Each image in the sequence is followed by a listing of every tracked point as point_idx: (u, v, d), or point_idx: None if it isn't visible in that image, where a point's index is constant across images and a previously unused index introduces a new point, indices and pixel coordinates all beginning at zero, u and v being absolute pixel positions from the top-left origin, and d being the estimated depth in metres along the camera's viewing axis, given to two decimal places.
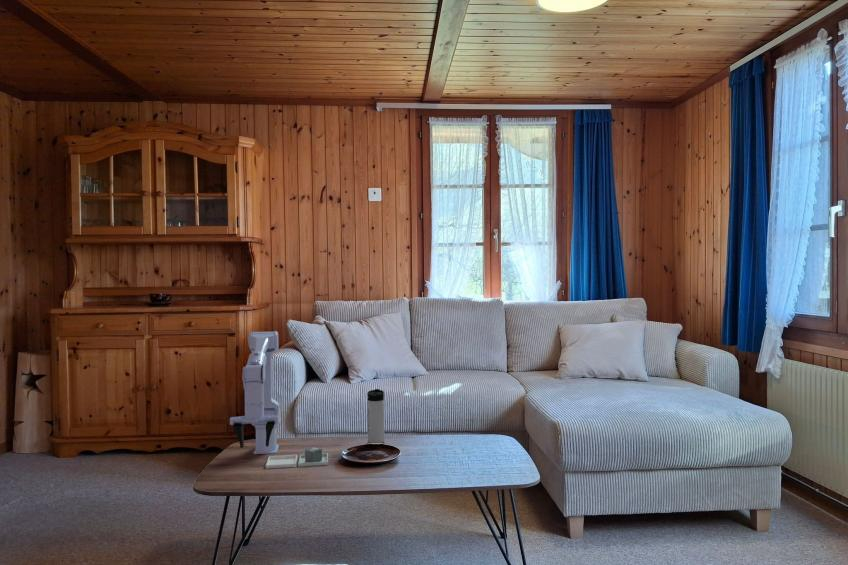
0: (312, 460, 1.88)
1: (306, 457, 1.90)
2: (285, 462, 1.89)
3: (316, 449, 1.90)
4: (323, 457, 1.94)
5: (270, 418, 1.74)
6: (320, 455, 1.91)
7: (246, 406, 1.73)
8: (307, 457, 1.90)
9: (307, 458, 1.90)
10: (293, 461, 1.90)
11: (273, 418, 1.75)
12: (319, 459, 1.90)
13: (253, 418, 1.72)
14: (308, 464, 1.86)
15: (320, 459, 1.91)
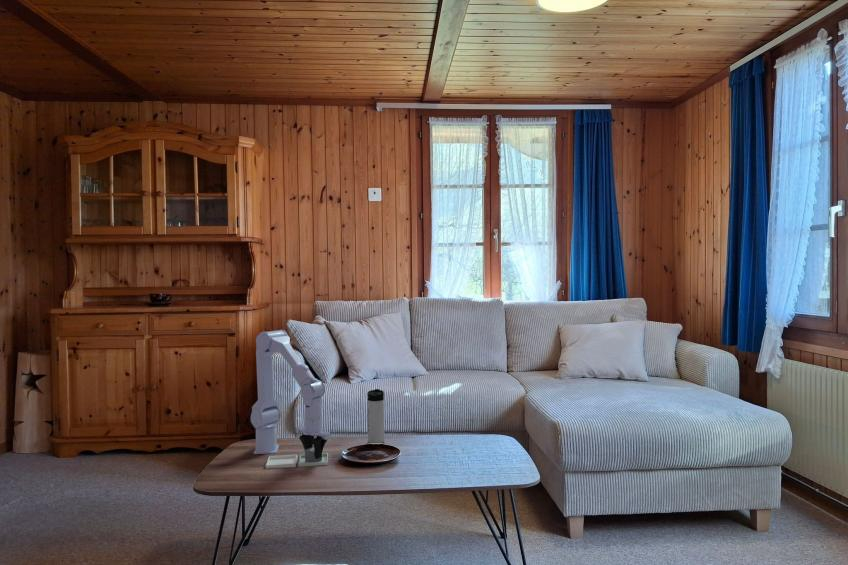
0: (312, 460, 1.88)
1: (306, 457, 1.90)
2: (285, 462, 1.89)
3: None
4: (323, 457, 1.94)
5: (320, 434, 1.87)
6: None
7: None
8: (307, 457, 1.90)
9: (307, 458, 1.90)
10: (293, 461, 1.90)
11: (323, 434, 1.86)
12: (319, 459, 1.90)
13: (307, 431, 1.88)
14: (308, 464, 1.86)
15: (320, 459, 1.91)
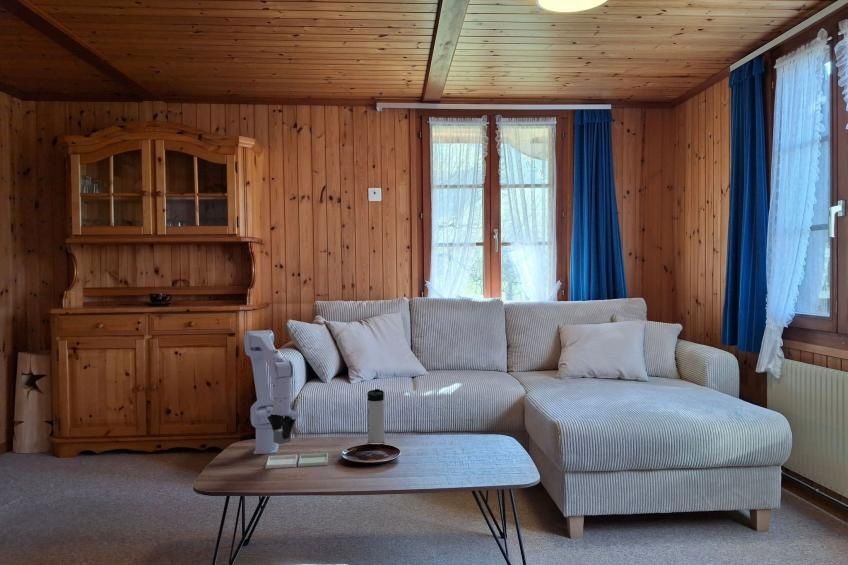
0: (280, 441, 1.87)
1: (275, 437, 1.88)
2: (285, 462, 1.89)
3: None
4: (323, 457, 1.94)
5: (288, 414, 1.85)
6: None
7: (273, 399, 1.89)
8: (275, 438, 1.88)
9: (275, 438, 1.88)
10: (293, 461, 1.90)
11: (290, 414, 1.85)
12: (288, 440, 1.89)
13: (275, 411, 1.87)
14: (308, 464, 1.86)
15: (289, 440, 1.89)
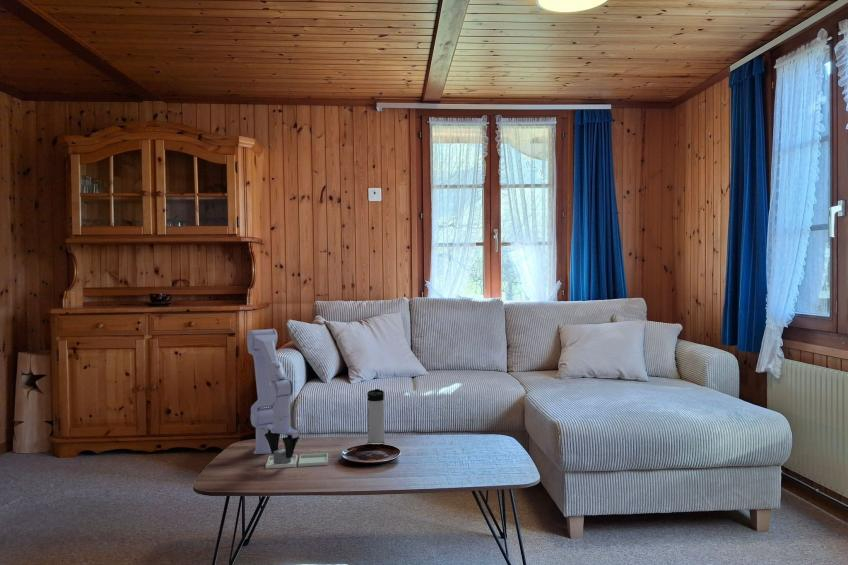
0: (280, 462, 1.87)
1: (275, 459, 1.88)
2: None
3: (285, 451, 1.89)
4: (323, 457, 1.94)
5: (288, 432, 1.85)
6: None
7: (273, 417, 1.89)
8: (275, 459, 1.88)
9: (275, 459, 1.88)
10: (293, 461, 1.90)
11: (290, 433, 1.85)
12: (288, 461, 1.89)
13: (274, 429, 1.87)
14: (308, 464, 1.86)
15: (289, 461, 1.89)
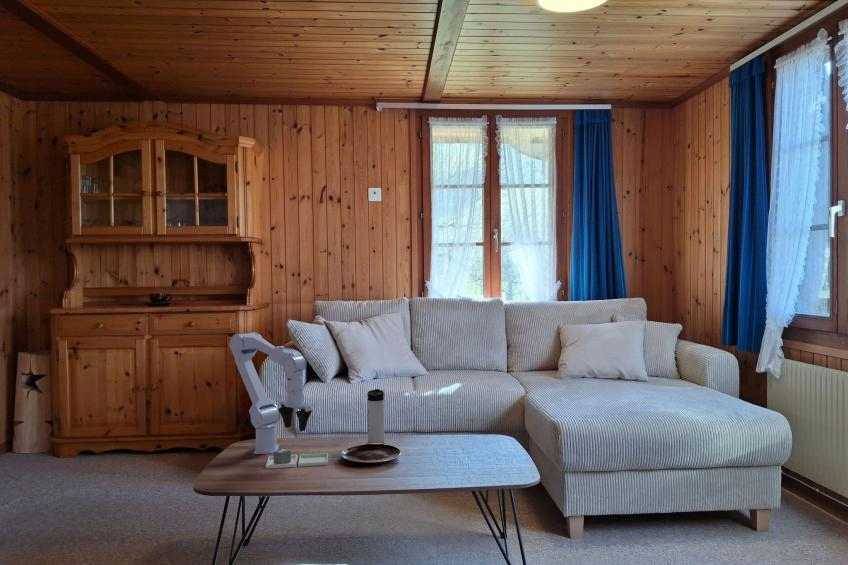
0: (280, 462, 1.87)
1: (275, 459, 1.88)
2: None
3: (285, 451, 1.89)
4: (323, 457, 1.94)
5: (301, 406, 1.91)
6: (289, 457, 1.89)
7: None
8: (275, 459, 1.88)
9: (275, 459, 1.88)
10: (293, 461, 1.90)
11: (303, 406, 1.91)
12: (288, 461, 1.89)
13: (288, 403, 1.93)
14: (308, 464, 1.86)
15: (289, 461, 1.89)
